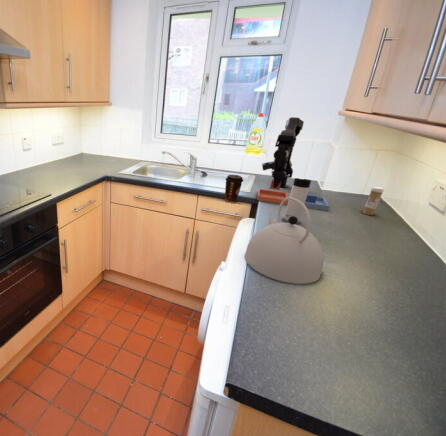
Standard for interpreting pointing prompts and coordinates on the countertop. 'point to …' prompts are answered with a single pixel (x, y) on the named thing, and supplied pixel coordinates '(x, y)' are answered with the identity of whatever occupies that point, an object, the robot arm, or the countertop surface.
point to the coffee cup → (232, 187)
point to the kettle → (286, 250)
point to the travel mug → (299, 193)
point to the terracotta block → (273, 185)
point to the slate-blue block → (311, 198)
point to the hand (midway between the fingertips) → (274, 186)
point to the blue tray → (318, 204)
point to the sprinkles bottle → (373, 200)
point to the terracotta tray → (272, 196)
